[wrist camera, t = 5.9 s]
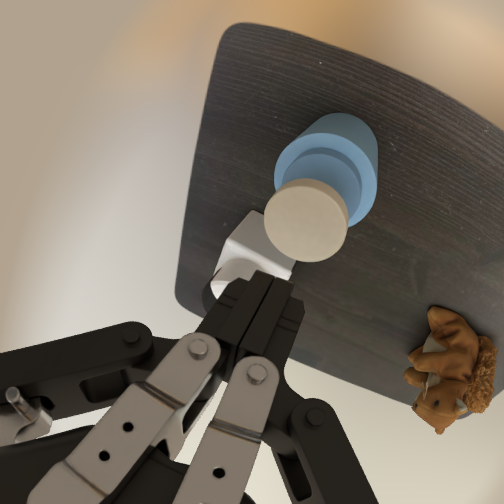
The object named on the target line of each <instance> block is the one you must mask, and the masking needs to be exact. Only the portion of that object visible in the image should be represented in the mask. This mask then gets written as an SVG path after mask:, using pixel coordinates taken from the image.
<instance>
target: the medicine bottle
mask: <svg viewBox="0 0 504 504" xmlns="http://www.w3.org/2000/svg"><path fill="white" fill-rule="evenodd" d="M297 261H298V260H295V259H293V258H290V257H288V256H286V255H285V254H283V253H282V252H280V251H279V250H278V249H277V248H276V247H275V246H274V245H273V243H272V242H271V241H270V239H269V237H268V235H267V233H266V230H265V227H264V215H262V214H260V213H258V212H256V211H254V210H252V211H251V212H250V213H249V214H248V215H247V216H246V217H245V218H244V220H243V221H242V222H241V223H240V224H239V225H238V227H237V228H236V229H235V230H234V231H233V232H232V234H231V235H230V236H229V237H228V238H227V239H226V242H225V245H224V247H223V250H222V253H221V256H220V258H219V261H218V264H217V266H216V269H215V272H214V275H213V277H212V278H211V279H210V281H209V282H208V283H207V285H206V286H205V287H204V289H203V291H202V302H203V305H204V308H205V310H206V312H207V313H208V312H209V310H210V309H211V308H212V306H213V305H214V303H216V300H217V299H218V297H219V296H220V295H221V293H222V292H223V290H224V289H225V287H226V286H227V284H228V283H230V282H232V281H233V280H235V279H237V278H238V277H240V278H242V279H245V280H248V281H249V280H250V279H251V277H252V275H253V274H254V272H255V271H256V270H260V271H263V272H266V273H268V274H271V275H274V276H275V278H276V277H279V278H282V279H285V280H288V279H289V278H290V276H291V274H292V272H293V270H294V268H295V265H296V263H297Z"/></svg>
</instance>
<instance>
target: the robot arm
mask: <svg viewBox="0 0 504 504" xmlns="http://www.w3.org/2000/svg"><path fill="white" fill-rule="evenodd" d="M294 284H295V283H293V282H290V281H288V280H285V279H282V278H279V277H276V278H275V276H274V275H271V274H268V273H266V272H263V271H260V270H256V271H255V272H254V274H253V275H252V277H251V279H250V280H249V281H248V280H245V279H242V278H240V277H238V278H237V279H235V280H233V281H232V282H230V283H228V284H227V286H226V287H225V289H224V290H223V292H222V293H221V295H220V296H219V297H218V299H217V300H216V303H214V305H213V306H212V308H211V309H210V310H209V312H208V313H207V315H206V316H205V318H204V319H203V321H202V322H201V324H200V325H199V327H198V328H197V329H196V331H195V332H194V333H189V334H187V335H185V336H183V337H182V338H181V339H167V338H161V337H155V336H152V333H151V331H150V329H149V328H148V327H147V326H146V325H144V324H142V323H140V322H134V321H132V322H131V321H130V322H125V323H121V324H117V325H113V326H109V327H106V328H102V329H98V330H94V331H90V332H86V333H83V334H79V335H74V336H71V337H66V338H63V339H58V340H54V341H50V342H46V343H42V344H38V345H34V346H30V347H25V348H21V349H17V350H13V351H8V352H4V353H0V504H256V503H255V502H254V501H253V500H252V498H251V497H250V496H249V495H247V494H246V493H245V492H244V490H245V487H246V485H247V482H248V479H249V476H250V474H251V471H252V468H253V465H254V462H255V459H256V456H257V453H258V451H259V447H260V444H261V440H262V441H264V442H265V443H266V444H267V445H269V446H270V447H271V450H272V453H273V456H274V458H275V461H276V464H277V466H278V469H279V471H280V474H281V476H282V479H283V482H284V484H285V487H286V489H287V492H288V495H289V497H290V500H291V502H292V504H379V503H378V501H377V499H376V497H375V495H374V493H373V491H372V488H371V486H370V484H369V482H368V480H367V478H366V476H365V474H364V471H363V469H362V467H361V465H360V463H359V461H358V459H357V457H356V455H355V453H354V450H353V448H352V446H351V444H350V442H349V440H348V438H347V436H346V434H345V432H344V430H343V427H342V425H341V423H340V421H339V419H338V417H337V415H336V413H335V411H334V409H333V408H332V407H331V406H330V405H329V404H328V403H327V402H325V401H323V400H320V399H316V398H309V399H304V398H303V397H301V396H300V395H299V394H297V393H296V392H295V391H293V390H292V389H291V388H290V387H289V385H288V384H287V382H286V380H285V377H284V367H285V364H286V361H287V359H288V356H289V353H290V351H291V348H292V346H293V343H294V340H295V338H296V335H297V332H298V330H299V327H300V324H301V322H302V319H303V316H304V313H305V311H304V305H303V301H302V300H299V299H296V298H293V297H291V293H292V290H293V287H294ZM222 381H225V382H227V383H228V385H227V387H226V389H225V392H224V394H223V397H222V399H221V401H220V404H219V406H218V408H217V411H216V413H215V415H214V417H213V419H212V421H210V423H209V424H208V426H207V428H206V430H205V433H204V435H203V437H202V440H201V442H200V444H199V446H198V448H197V451H196V453H195V455H194V457H193V460H192V462H191V464H190V465H187V464H183V463H179V462H175V461H174V459H175V458H176V457H177V455H178V454H179V452H180V450H181V449H182V447H183V444H184V442H185V439H186V438H187V436H188V434H189V432H190V431H191V430H192V428H193V427H194V426H195V424H196V422H197V421H198V420H199V418H200V417H201V415H202V414H203V412H204V411H205V409H206V408H207V407H208V405H209V404H210V402H211V400H212V399H213V397H214V395H215V393H216V391H217V389H218V387H219V385H220V384H221V382H222ZM109 406H111V408H110V409H109V410H108V411H107V412H106V413H105V415H104V416H103V417H102V418H101V419H100V420H99V422H98V423H97V424H96V425H88V426H83V427H79V428H76V429H72V430H69V431H65V432H61V433H57V434H54V435H50V436H46V437H42V438H38V439H36V438H37V437H40V436H43V435H45V434H48V433H49V431H50V428H51V425H52V421H54V420H58V419H62V418H67V417H71V416H74V415H79V414H83V413H87V412H91V411H94V410H98V409H102V408H106V407H109Z"/></svg>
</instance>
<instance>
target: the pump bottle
mask: <svg viewBox="0 0 504 504" xmlns="http://www.w3.org/2000/svg"><path fill="white" fill-rule="evenodd" d="M377 169H378V146H377V141H376V138H375V136H374V134H373V132H372V130H371V129H370V128H369V126H368V125H367V124H366V123H365V122H363V121H362V120H361V119H359V118H357V117H355V116H353V115H350V114H346V113H332V114H328V115H325V116H323V117H321V118H320V119H318V120H317V121H316V122H315V123H313V124H312V125H311V126H310V127H309V128H308V129H306V130H305V131H304V132H303V133H302V134H301V135H299V136H298V137H297V138H296V139H295V140H294V141H292V142H291V143H290V144H289V145H288V146H287V147H286V148H285V149H284V150H283V152H282V153H281V155H280V156H279V158H278V161H277V163H276V167H275V173H274V183H275V188H276V191H277V190H278V189H279V188H280V187H281V186H283V185H284V184H286V183H287V182H290V181H292V180H296V179H302V178H308V179H314V180H318V181H321V182H323V183H325V184H327V185H329V186H330V187H332V188H333V189H334V190H335V191H336V192H338V194H339V195H340V196H341V197H342V199H343V200H344V202H345V204H346V207H347V210H348V215H349V223H348V227H350V226H352V225H354V224H356V223H357V222H359V221H360V220H361V219H363V218H364V217H365V216H366V214H367V213H368V212H369V210H370V209H371V207H372V205H373V203H374V200H375V197H376V191H377Z"/></svg>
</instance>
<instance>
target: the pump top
mask: <svg viewBox="0 0 504 504" xmlns="http://www.w3.org/2000/svg"><path fill="white" fill-rule="evenodd" d="M348 223H349V215H348V210H347V207H346V204H345V202H344V200H343V199H342V197H341V196H340V195H339V194H338V192H336V191H335V190H334V189H333V188H332V187H330V186H329V185H327V184H325V183H323V182H321V181H318V180H314V179H308V178H302V179H296V180H292V181H290V182H287V183H286V184H284V185H283V186H281V187H280V188H279V189H278V190H277V191H276V193H275V194H274V195H273V196H272V198H271V199H270V200H269V202H268V203H267V206H266V208H265V211H264V227H265V230H266V233H267V235H268V237H269V239H270V241H271V242H272V243H273V245H274V246H275V247H276V248H277V249H278V250H279V251H280V252H282V253H283V254H285V255H286V256H288V257H290V258H293V259H295V260H299V261H304V262H316V261H321V260H324V259H327V258H329V257H330V256H332V255H333V254H335V253H336V252H337V251H338V250H339V249H340V247H341V246H342V244H343V242H344V240H345V237H346V233H347V229H348Z"/></svg>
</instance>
